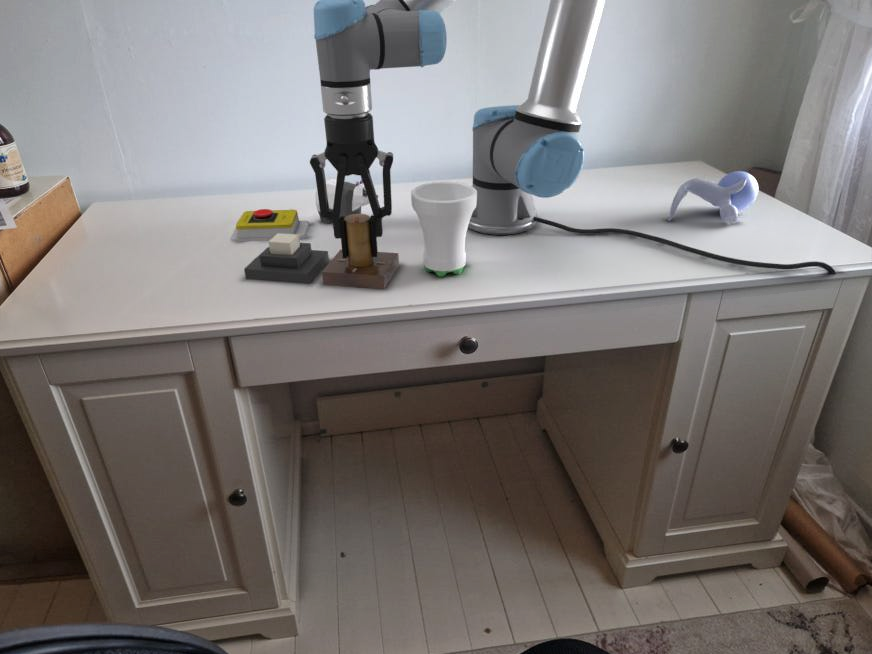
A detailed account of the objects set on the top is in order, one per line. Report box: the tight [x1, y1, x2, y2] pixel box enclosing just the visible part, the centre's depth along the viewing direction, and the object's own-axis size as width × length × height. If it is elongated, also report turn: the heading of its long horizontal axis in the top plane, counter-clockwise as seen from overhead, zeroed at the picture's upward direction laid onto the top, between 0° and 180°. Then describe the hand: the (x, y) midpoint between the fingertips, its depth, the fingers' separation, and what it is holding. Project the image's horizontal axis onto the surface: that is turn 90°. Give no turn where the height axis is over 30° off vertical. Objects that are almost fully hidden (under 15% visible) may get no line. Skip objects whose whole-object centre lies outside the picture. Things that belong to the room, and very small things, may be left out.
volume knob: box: [344, 213, 374, 267], centre depth 108 cm, size 4×4×8 cm
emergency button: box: [229, 208, 311, 243], centre depth 129 cm, size 9×4×15 cm
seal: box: [667, 170, 759, 223], centre depth 131 cm, size 8×12×20 cm
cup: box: [410, 181, 477, 278], centre depth 109 cm, size 11×11×14 cm
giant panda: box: [315, 178, 379, 224], centre depth 131 cm, size 15×6×10 cm, turn 62°
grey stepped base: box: [243, 242, 330, 285], centre depth 113 cm, size 12×10×4 cm
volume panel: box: [321, 248, 400, 290], centre depth 111 cm, size 11×10×3 cm
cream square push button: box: [268, 233, 301, 255], centre depth 112 cm, size 4×4×3 cm
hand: (360, 254), depth 109 cm, fingers closed on volume knob, 4 cm apart
